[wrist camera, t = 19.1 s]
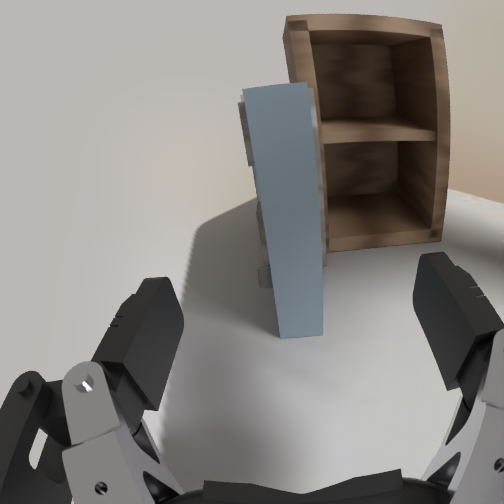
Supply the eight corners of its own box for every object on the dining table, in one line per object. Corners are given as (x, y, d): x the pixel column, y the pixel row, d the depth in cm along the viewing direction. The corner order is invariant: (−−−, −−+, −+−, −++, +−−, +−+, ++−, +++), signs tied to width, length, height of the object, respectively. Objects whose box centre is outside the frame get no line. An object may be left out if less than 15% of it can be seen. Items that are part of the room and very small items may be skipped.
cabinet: (402, 197, 38) (394, 37, 26) (453, 255, 25) (458, 20, 14) (268, 209, 40) (242, 42, 29) (265, 276, 27) (221, 16, 16)
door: (311, 257, 29) (293, 83, 21) (322, 334, 20) (306, 81, 12) (269, 261, 29) (242, 89, 21) (266, 339, 21) (221, 92, 13)
